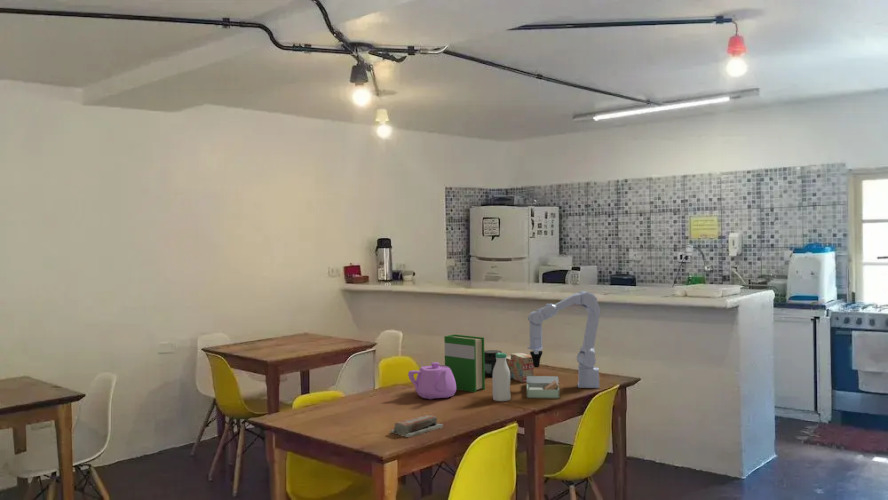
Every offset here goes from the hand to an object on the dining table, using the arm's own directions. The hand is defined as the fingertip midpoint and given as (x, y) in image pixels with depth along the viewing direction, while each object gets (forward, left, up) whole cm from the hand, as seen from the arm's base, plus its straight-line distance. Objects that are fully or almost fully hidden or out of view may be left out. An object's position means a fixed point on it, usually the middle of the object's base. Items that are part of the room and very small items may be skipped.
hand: (536, 367), depth 330 cm
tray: (-3, +13, -10) cm, 16 cm away
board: (-3, -1, -10) cm, 10 cm away
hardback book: (+33, +1, -10) cm, 35 cm away
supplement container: (+22, -30, -10) cm, 38 cm away
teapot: (+44, +18, -10) cm, 49 cm away
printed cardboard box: (+9, -23, -10) cm, 27 cm away
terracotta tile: (-7, +10, -8) cm, 15 cm away
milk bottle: (+15, +22, -10) cm, 29 cm away
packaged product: (+44, +72, -11) cm, 85 cm away
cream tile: (0, +13, -7) cm, 15 cm away
